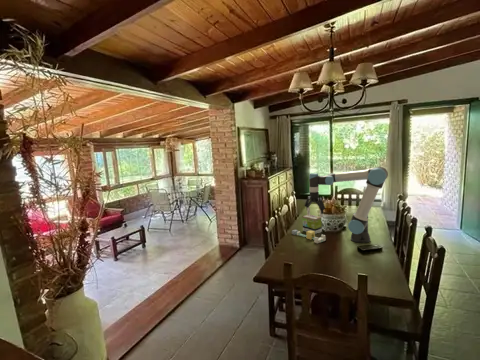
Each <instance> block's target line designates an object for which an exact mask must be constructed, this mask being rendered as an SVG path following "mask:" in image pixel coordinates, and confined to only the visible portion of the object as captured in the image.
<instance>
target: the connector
mask: <svg viewBox="0 0 480 360" xmlns="http://www.w3.org/2000/svg"><path fill="white" fill-rule="evenodd" d="M297 232H299V230H298V229H293V230H291V234H292V235H294V236H295V235H296V233H297ZM296 236H297V235H296Z"/></svg>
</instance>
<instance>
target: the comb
mask: <svg viewBox="0 0 480 360" xmlns="http://www.w3.org/2000/svg"><path fill="white" fill-rule="evenodd" d="M326 239H327V237H326V235H325V234H321V235H320V237H317V236H315V237H314V240H313V241H314V243H315V244H320V243H322V242H321V240H323V242H325V241H326Z"/></svg>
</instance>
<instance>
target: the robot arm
mask: <svg viewBox="0 0 480 360" xmlns="http://www.w3.org/2000/svg"><path fill="white" fill-rule="evenodd" d="M308 175H309V176H308V177H309V178H308V181H309V182H308V183H309V195H307V196H306V200H305V203H304V207H306V213H307V214H306V215H311V207H310V206H311V204H312V203H314V204H316V205H317V206H318V208H319V217H320V218H324V210H326V206H325V203H324V202H323V198H322V197H319V196H320V193H319V191H320V189H319V186H332V185H333V184H334V183H339V182H340V183H342V182H355V181H365V180H366V182H365V183H366V187H365V190H364V192H363V195H362V196H361V199H360V201H359V202H360V203H359V204H358V207H357V209H356V211H355V212H354V213H352V216H351V219H350V221H349V222H348V224H347V228H348V230H349V232H351V234H350V235H351V236H350V240H351V241H352V242H353V243H359V244H367V243H370V242H371V236H370V233H369V213H370V212H371V209H372V206H373V204H374V202H375V199H376V197H377V194H378V192H379V190H380V189H382V188H383V186H384V185H385V183H386V179H388V177H389V172H388V170H387V169H386V168H385V167H383V166H376V167H372V168H368V169H362V170H354V171H347V172H345V171H344V172H335V173H332V172H331V173H328V174H326V175H319V173H317V172H314V173H312V172H311V173H309V174H308Z"/></svg>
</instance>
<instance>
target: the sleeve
mask: <svg viewBox="0 0 480 360" xmlns="http://www.w3.org/2000/svg"><path fill="white" fill-rule="evenodd" d="M305 235H306V236H307V238H306V239H307V240H310V241H311V240H312V237H316V234H315V232H314V231H311V230H310V231H307V232H306V231H305ZM312 241H313V240H312Z"/></svg>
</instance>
